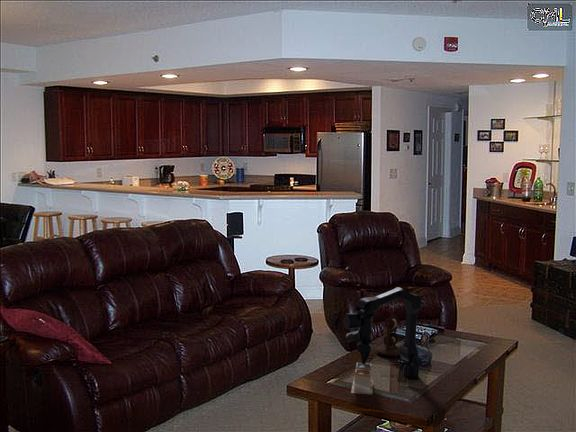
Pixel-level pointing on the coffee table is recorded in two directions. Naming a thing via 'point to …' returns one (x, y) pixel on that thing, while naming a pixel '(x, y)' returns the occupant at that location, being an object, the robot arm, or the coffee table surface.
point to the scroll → (390, 338)
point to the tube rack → (362, 379)
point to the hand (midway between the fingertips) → (364, 360)
